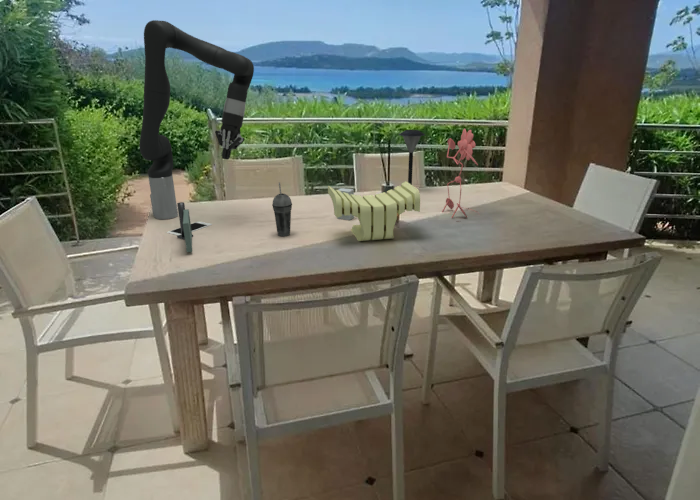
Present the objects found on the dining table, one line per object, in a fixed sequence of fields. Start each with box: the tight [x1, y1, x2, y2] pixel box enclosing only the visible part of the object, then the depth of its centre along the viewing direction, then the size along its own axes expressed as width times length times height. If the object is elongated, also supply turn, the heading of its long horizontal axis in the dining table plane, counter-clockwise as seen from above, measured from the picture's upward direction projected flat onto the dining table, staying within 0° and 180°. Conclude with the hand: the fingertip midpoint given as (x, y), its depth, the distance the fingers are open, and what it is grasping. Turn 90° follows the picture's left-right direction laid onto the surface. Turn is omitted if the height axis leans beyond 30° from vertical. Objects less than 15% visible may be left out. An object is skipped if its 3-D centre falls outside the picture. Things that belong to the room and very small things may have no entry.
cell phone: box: [166, 220, 213, 237], centre depth 190 cm, size 8×16×1 cm, turn 148°
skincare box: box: [336, 187, 355, 221], centre depth 199 cm, size 6×4×12 cm
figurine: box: [441, 128, 479, 223], centre depth 200 cm, size 15×26×35 cm, turn 15°
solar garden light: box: [398, 129, 426, 186], centre depth 233 cm, size 12×12×30 cm
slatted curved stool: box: [327, 180, 421, 242], centre depth 178 cm, size 30×16×18 cm, turn 103°
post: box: [176, 201, 194, 241], centre depth 178 cm, size 4×4×13 cm
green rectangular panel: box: [183, 208, 193, 253], centre depth 169 cm, size 17×2×10 cm, turn 17°
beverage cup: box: [272, 182, 293, 237], centre depth 179 cm, size 7×7×20 cm
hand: (225, 158), depth 184 cm, fingers closed
